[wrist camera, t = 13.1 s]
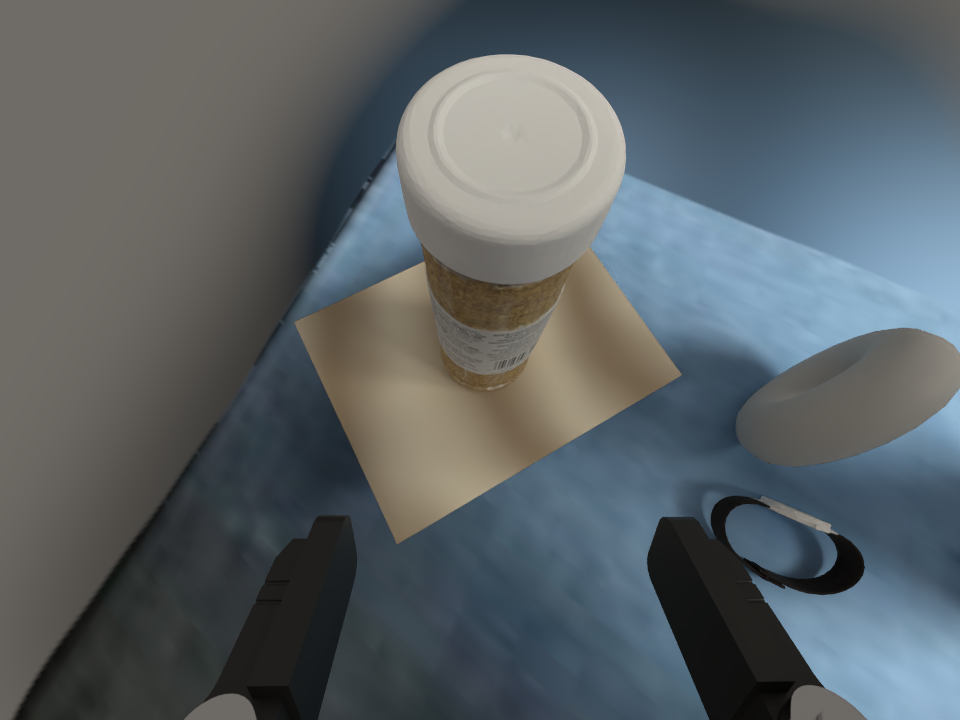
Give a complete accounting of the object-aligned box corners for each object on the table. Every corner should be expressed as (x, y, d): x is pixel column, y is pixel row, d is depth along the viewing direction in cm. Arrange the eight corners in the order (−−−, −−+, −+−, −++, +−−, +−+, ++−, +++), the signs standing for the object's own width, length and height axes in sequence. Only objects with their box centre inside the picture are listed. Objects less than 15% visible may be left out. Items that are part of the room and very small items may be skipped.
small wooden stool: (538, 255, 29) (555, 199, 23) (634, 398, 26) (682, 375, 20) (331, 356, 26) (294, 322, 21) (414, 528, 23) (397, 544, 18)
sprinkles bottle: (509, 299, 21) (575, 21, 8) (542, 377, 20) (677, 194, 7) (427, 325, 21) (362, 70, 8) (456, 407, 20) (435, 268, 7)
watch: (834, 526, 24) (895, 533, 21) (823, 607, 23) (886, 629, 20) (711, 476, 25) (750, 475, 22) (694, 552, 24) (733, 564, 20)
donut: (729, 481, 25) (894, 481, 15) (691, 434, 26) (826, 407, 16) (835, 392, 27) (1041, 343, 17) (796, 351, 28) (973, 283, 18)
